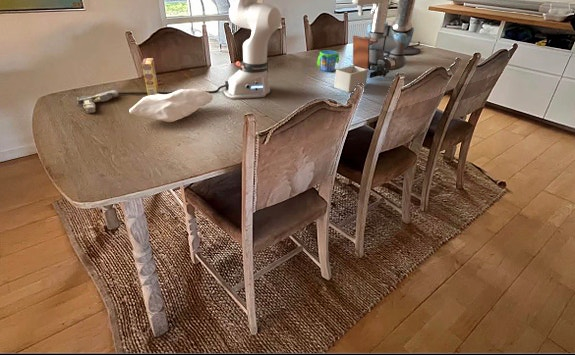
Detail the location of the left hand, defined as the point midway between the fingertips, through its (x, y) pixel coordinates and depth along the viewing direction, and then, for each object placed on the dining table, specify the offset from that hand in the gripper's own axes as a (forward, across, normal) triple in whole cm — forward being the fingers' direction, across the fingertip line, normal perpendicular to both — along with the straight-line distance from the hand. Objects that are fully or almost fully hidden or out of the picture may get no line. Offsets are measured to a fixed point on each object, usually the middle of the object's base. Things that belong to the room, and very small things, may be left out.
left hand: (366, 14), depth 171 cm
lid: (+17, -1, 0) cm, 17 cm away
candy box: (+34, -89, +47) cm, 106 cm away
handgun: (+34, -111, +50) cm, 127 cm away
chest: (+34, -6, 0) cm, 34 cm away
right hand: (+27, +1, 0) cm, 27 cm away
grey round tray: (+34, +86, +34) cm, 99 cm away
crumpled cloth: (+34, -93, +22) cm, 101 cm away
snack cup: (+34, +7, +27) cm, 44 cm away
